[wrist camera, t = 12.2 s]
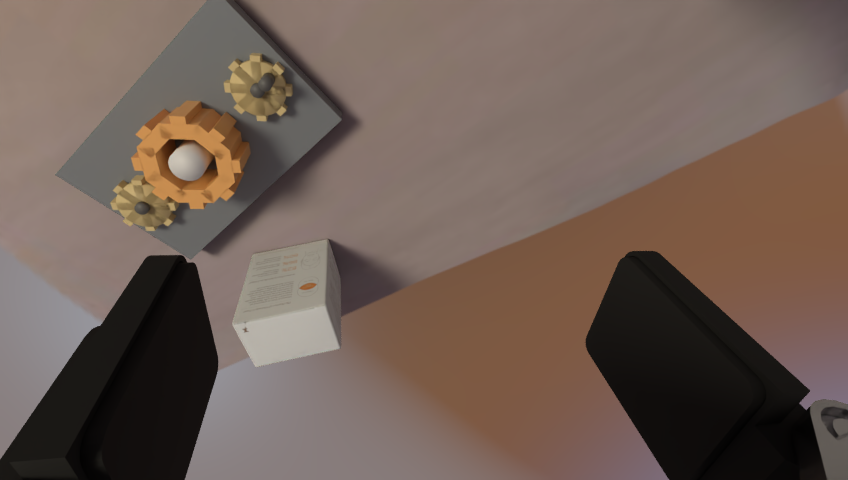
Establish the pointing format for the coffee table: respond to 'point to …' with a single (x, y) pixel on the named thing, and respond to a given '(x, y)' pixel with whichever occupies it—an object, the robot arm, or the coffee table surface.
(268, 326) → the small box
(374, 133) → the coffee table surface
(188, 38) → the board
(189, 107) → the gear
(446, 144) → the coffee table surface
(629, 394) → the robot arm
